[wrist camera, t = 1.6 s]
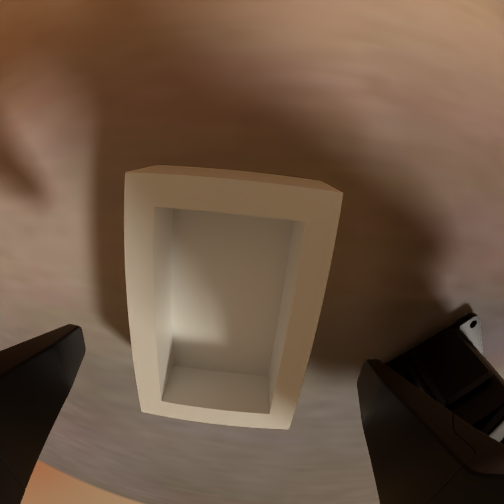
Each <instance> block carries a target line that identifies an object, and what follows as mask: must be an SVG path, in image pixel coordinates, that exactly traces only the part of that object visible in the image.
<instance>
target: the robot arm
mask: <svg viewBox="0 0 504 504" xmlns="http://www.w3.org/2000/svg"><path fill="white" fill-rule="evenodd" d="M471 322H472V323H471ZM84 355H85V342H84V337H83V332H82V329H81V327H80V326H77V325H73V324H68V325H65V326H63V327H60V328H58V329H55V330H53V331H50V332H48V333H45V334H43V335H40V336H37V337H35V338H32V339H30V340H27V341H25V342H22V343H20V344H17V345H15V346H12V347H9V348H7V349H4V350H2V351H0V504H20V503H21V500H22V498H23V495H24V492H25V488H26V487H27V484H28V482H29V479H30V476H31V474H32V472H33V469H34V467H35V465H36V462H37V460H38V458H39V455H40V453H41V451H42V449H43V446H44V444H45V442H46V440H47V437H48V435H49V433H50V431H51V429H52V427H53V425H54V422H55V420H56V418H57V416H58V414H59V412H60V410H61V408H62V406H63V404H64V402H65V400H66V398H67V396H68V394H69V392H70V390H71V388H72V385H73V383H74V380H75V377H76V375H77V372H78V370H79V367H80V365H81V362H82V360H83V357H84ZM357 389H358V396H359V403H360V411H361V419H362V425H363V430H364V434H365V438H366V442H367V446H368V450H369V455H370V459H371V463H372V468H373V472H374V477H375V481H376V486H377V490H378V495H379V500H380V504H504V380H503V378H502V377H501V376H500V375H499V374H498V372H497V371H496V370H495V369H494V368H493V367H492V365H491V364H490V363H489V362H488V361H487V360H486V358H485V357H484V356H483V352H482V335H481V323H480V318H479V316H477V315H476V314H475V313H470V314H468V315H467V316H466V317H464V318H463V319H461V320H459V321H458V322H456V323H455V324H453V325H452V326H450V327H449V328H447V329H446V330H444V331H442V332H441V333H439V334H437V335H436V336H434V337H433V338H431V339H429V340H427V341H426V342H424V343H422V344H421V345H419V346H417V347H415V348H414V349H412V350H410V351H408V352H407V353H405V354H403V355H401V356H399V357H397V358H396V359H394V360H392V361H390V362H388V363H386V364H384V363H382V362H381V361H379V360H377V359H368V360H366V361H365V362H364V364H363V367H362V369H361V372H360V375H359V377H358V381H357Z"/></svg>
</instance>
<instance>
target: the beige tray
mask: <svg viewBox="0 0 504 504" xmlns="http://www.w3.org/2000/svg"><path fill="white" fill-rule="evenodd" d="M342 199H343V193H342V192H341V191H339V190H337V189H335V188H333V187H332V186H330V185H328V184H326V183H324V182H322V181H320V180H313V179H306V178H298V177H291V176H283V175H275V174H266V173H257V172H247V171H237V170H227V169H215V168H202V167H188V166H172V165H155V166H150V167H145V168H141V169H136V170H132V171H128V172H125V189H124V250H125V275H126V292H127V306H128V317H129V328H130V337H131V346H132V354H133V362H134V369H135V376H136V383H137V389H138V395H139V401H140V407H141V412H145V413H150V414H155V415H160V416H166V417H171V418H177V419H183V420H190V421H197V422H204V423H212V424H220V425H230V426H241V427H254V428H271V429H289V428H290V424H291V421H292V418H293V415H294V411H295V408H296V404H297V401H298V398H299V394H300V391H301V387H302V383H303V380H304V376H305V372H306V369H307V365H308V361H309V357H310V353H311V349H312V346H313V341H314V337H315V333H316V329H317V325H318V321H319V317H320V312H321V308H322V303H323V299H324V294H325V290H326V285H327V280H328V276H329V271H330V266H331V261H332V256H333V250H334V245H335V240H336V234H337V229H338V223H339V217H340V211H341V205H342Z"/></svg>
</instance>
